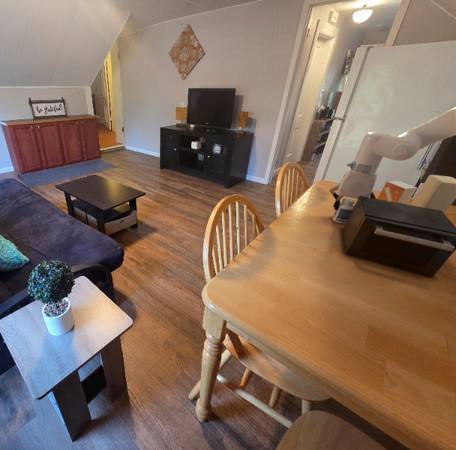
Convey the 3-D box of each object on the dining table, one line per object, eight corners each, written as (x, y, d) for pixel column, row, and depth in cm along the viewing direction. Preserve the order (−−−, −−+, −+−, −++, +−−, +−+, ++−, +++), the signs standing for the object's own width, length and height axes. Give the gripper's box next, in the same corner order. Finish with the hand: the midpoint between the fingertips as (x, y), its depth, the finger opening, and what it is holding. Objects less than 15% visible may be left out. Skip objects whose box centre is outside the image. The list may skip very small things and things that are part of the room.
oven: (429, 274, 75) (462, 234, 67) (345, 251, 85) (364, 214, 77) (415, 247, 87) (441, 210, 79) (342, 230, 96) (359, 195, 88)
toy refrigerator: (431, 235, 93) (469, 184, 82) (408, 232, 95) (441, 182, 84) (420, 225, 100) (453, 176, 89) (398, 222, 102) (428, 174, 91)
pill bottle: (350, 223, 101) (361, 202, 95) (339, 224, 100) (349, 203, 95) (340, 217, 105) (349, 196, 100) (329, 218, 104) (338, 197, 99)
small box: (371, 207, 113) (386, 181, 106) (383, 206, 114) (398, 180, 107) (388, 216, 106) (405, 188, 99) (401, 214, 107) (418, 187, 100)
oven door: (436, 287, 71) (472, 247, 63) (346, 261, 80) (367, 224, 72) (430, 274, 75) (462, 235, 67) (345, 251, 84) (364, 215, 76)
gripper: (337, 166, 91) (320, 209, 101) (395, 174, 84) (371, 220, 93) (336, 161, 97) (320, 202, 106) (391, 168, 90) (368, 212, 99)
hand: (344, 210), depth 100 cm, fingers closed on pill bottle, 5 cm apart
